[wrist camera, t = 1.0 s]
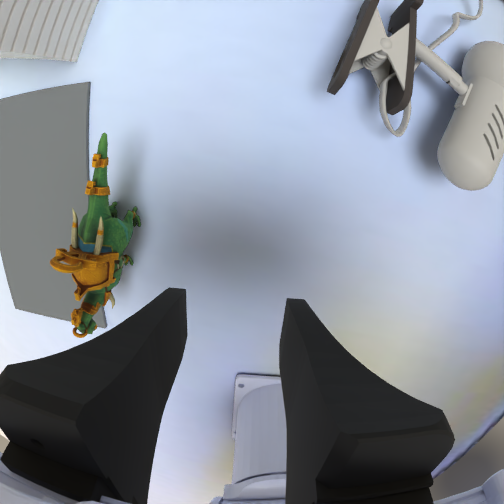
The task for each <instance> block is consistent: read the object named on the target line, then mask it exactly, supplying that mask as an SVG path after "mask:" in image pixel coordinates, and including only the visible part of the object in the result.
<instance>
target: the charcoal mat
mask: <svg viewBox="0 0 504 504" xmlns="http://www.w3.org/2000/svg"><path fill="white" fill-rule="evenodd" d="M89 96H90V82H84V83H77V84H71V85H64V86H58V87H53V88H47V89H42V90H37V91H33V92H28V93H23V94H19V95H15V96H11V97H7V98H3V99H0V251H1V256H2V261H3V265H4V269H5V273H6V277H7V281H8V285H9V288H10V292H11V295H12V299H13V302H14V306H15V309H19V310H23V311H27V312H31V313H35V314H39V315H44V316H48V317H52V318H57V319H61V320H66V321H71V320H72V318H71V313H72V312H73V310H74V309H79V308H80V307H81V303H82V301H83V299H84V298H85V295H86V294H85V295H84V296H83V297H82V298H81V300H80V301H77V300H75V295H74V292H75V290H76V289H77V285H76V283H75V282H74V280H73V278H72V275H71V274H72V273H62V272H58V271H57V270H55V269H53V267H52V266H51V265H50V260H51V259H52V258H53V257H55V255H56V249H59V248H65V249H66V250H67V252H69V248H70V245H71V244H72V242H71V236H72V224H73V210H72V208H73V209H74V211H75V212H76V214H77V218H78V228H79V225H80V222H81V220H82V218H83V216H84V215H85V214H86V213H87V210H88V202H89V195H87V194H85V191H86V186H87V182H88V181H89V159H88V124H89ZM60 263H63V264H67V263H65V262H63V261H61V262H60ZM67 265H70V264H67ZM92 319H93V320H94V321H95V322H96V325H97V327H101V328H106V327H107V324H106V319H105V313H104V308H103V306H101V307H100V309H99V310H98V312H97V313H96V314H94V316H93V317H92Z"/></svg>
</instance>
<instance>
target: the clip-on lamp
mask: <svg viewBox="0 0 504 504" xmlns="http://www.w3.org/2000/svg"><path fill="white" fill-rule="evenodd" d="M378 3H379V0H365V1H364V3H363V4H362V6H361V9H360V11H359V14H358V16H357V22H356V24H355V27H354V29H353V31H352V33H351V36H350V38H349V40H348V42H347V44H346V47H345V49H344V51H343V53H342V56H341V58H340V60H339V62H338V65H337V67H336V69H335V72H334V74H333V76H332V79H331V81H330V83H329V86H328V89H327V92H329V93H331V94H334V95H335V94H336V93H337V92H338V91H339V89H340V88H341V87H342V86H343V84H344V83H345V81H346V79H347V77H348V75H349V74H350V73H353V72H355V71H357V70H359V69H362V68H364V67H365V68H366V69H368V70H370V71H371V73H372V75H373V78H374V80H375V82H376V84H377V86H378V89H379V91H380V95H379V106H380V113H381V116H382V119H383V121H384V124H385V125H386V127H387V128H388V130H389V131H390V132H391V133H392V134H393V135H395V136H397V137H400V136H402V135H403V133H404V132H405V130H406V128H407V125H408V122H409V119H410V114H411V96H412V89H413V78H414V72H415V70H416V68H417V67H418V66H419V64H420V63H421V61H422V62H423V63H424V64H425V65H427V66H428V67H429V68H430V69H431V70H433V71H434V72H435V73H436V74H437V75H438V76H440V77H441V78H442V79H443V80H444V81H445V82H446V83H447V84H449V85H450V86H451V87H452V88H453V89H454V90H455V91H456V92H457V93H458V94H459V96H458V99H457V101H456V103H455V105H454V107H455V111H454V113H453V115H452V117H451V119H450V122H449V124H448V126H447V128H446V130H445V132H444V135H443V137H442V139H441V141H440V143H439V146H438V151H437V157H438V162H439V165H440V168H441V170H442V172H443V174H444V175H445V177H446V178H447V179H448V180H449V181H450V182H451V183H452V184H454V185H455V186H457V187H459V188H461V189H464V190H470V191H473V190H480V189H483V188H485V187H487V186H488V185H489V184H490V183H491V181H492V180H493V177H494V175H495V173H496V170H497V168H498V166H499V163H500V161H501V158H502V156H503V153H504V44H501V43H498V42H495V41H484V42H480V43H477V44H475V45H474V46H473V47H472V48H471V49H470V50H469V51H468V52H467V53H466V55H465V57H464V61H463V65H462V77H461V76H460V75H459V74H458V73H457V72H456V71H455V70H453V69H452V68H451V67H450V66H449V65H448V64H447V63H446V62H445V61H443V60H442V59H441V58H440V57H439V56H438V55H436V54H435V53H434V52H433V51H432V50H433V49H434V48H435V47H436V46H438V45H439V44H440V43H441V42H443V41H444V40H445V39H447V38H448V37H449V36H450V35H452V34H453V33H454V32H455V30H456V29H457V28H458V26H459V24H460V19H459V18H461V19H465V20H476V19H477V18H479V17H480V16H481V14H482V10H483V0H479V10H478V13H477V15H476V16H469V15H465V14H463V13H459V12H457V13H454V14H453V15H452V18H453V24H452V26H451V28H450V29H449V30H448V31H447V32H446V33H444V34H443V35H442V36H440V37H439V38H438V39H437V40H435V41H434V42H433V43H432V44H430V45H429V46H428V47H427V46H426V45H424V44H423V43H422V42H421V41H419V40H418V39H417V38H416V23H417V10H418V8H419V7H420V6H421V5H422V3H423V0H404V1H403V2H402V3H401V5H400V6H399V7H398V8H397V9H396V11H395V12H394V13H393V14H392V15H391V18H390V22H389V26H388V31H390V32H392V36H390V37H388V36H387V35H386V32H385V29H384V26H383V23H382V20H381V17H380V14H379V11H378V9H377V5H378ZM415 56H416V57H417V59H416V60H415ZM462 79H463V81H462ZM402 110H404V113H403V118H402V122H401V124H400V126H399V128H398V129H397V130H396V131H394V130H393V128H392V127H391V125H390V122H389V119H388V116H387V113H388V114H391V115H394V114H396V113H398V112H400V111H402Z"/></svg>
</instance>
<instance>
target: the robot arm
mask: <svg viewBox="0 0 504 504" xmlns="http://www.w3.org/2000/svg"><path fill="white" fill-rule="evenodd" d="M186 339H187V312H186V289H179V288H168V289H166V290H165V291H164V292H162V293H161V294H160V295H159V296H157V297H156V298H155V299H154V300H152V301H151V302H150V303H148V304H147V305H146V306H144V307H143V308H142V309H140V310H139V311H138V312H136V313H135V314H134V315H132V316H131V317H129V318H128V319H126V320H125V321H123V322H122V323H120V324H119V325H117V326H116V327H114V328H112V329H111V330H109V331H107V332H105V333H104V334H102V335H100V336H98V337H96V338H94V339H92V340H90V341H88V342H85V343H83V344H81V345H78V346H76V347H73V348H71V349H69V350H66V351H63V352H60V353H57V354H54V355H51V356H47V357H44V358H40V359H36V360H32V361H27V362H22V363H17V364H11V365H7V366H6V368H5V369H4V370H3V372H2V373H1V374H0V428H1V429H2V431H3V432H4V434H5V435H6V436H7V438H8V439H9V440H10V442H9V444H8V446H7V447H6V449H5V451H4V453H1V452H0V504H147V499H148V491H149V483H150V477H151V470H152V464H153V458H154V453H155V447H156V442H157V437H158V433H159V428H160V423H161V419H162V415H163V412H164V408H165V405H166V402H167V400H168V397H169V394H170V391H171V388H172V386H173V383H174V380H175V377H176V375H177V372H178V369H179V366H180V364H181V361H182V358H183V353H184V349H185V344H186ZM279 368H280V376H281V377H273V376H257V375H245V374H240V375H237V376H236V380H235V394H234V408H233V423H232V439H234V440H235V451H234V463H233V475H232V484H228V485H225V487H224V496H223V497H220V496H218V497H215V498H214V499H213V500H212V501H211V502H210V503H209V504H504V469H502V470H500V471H498V472H497V473H495V474H494V475H492V476H491V477H490V478H489V479H488V480H486V482H485V483H484V484H483V485H482V486H480V487H477V488H474V489H472V490H469V491H466V492H463V493H460V494H457V495H454V496H451V497H448V498H444V499H441V500H438V501H435V502H433V499H432V497H431V493H430V489H429V487H431V486H432V485H433V479H432V476H431V472H432V471H433V470H434V469H435V468H436V467H437V466H438V465H439V464H440V462H441V461H442V460H443V459H444V458H445V457H446V456H447V454H448V453H449V452H450V450H451V449H452V447H453V444H454V441H455V439H454V434H453V432H452V430H451V428H450V425H449V423H448V421H447V419H446V417H445V415H444V413H443V411H442V410H441V409H439V408H436V407H434V406H432V405H429V404H427V403H425V402H422V401H420V400H418V399H415V398H413V397H412V396H410V395H408V394H406V393H404V392H402V391H400V390H399V389H397V388H395V387H394V386H392V385H390V384H389V383H387V382H386V381H384V380H383V379H381V378H380V377H378V376H377V375H376V374H374V373H373V372H371V371H370V370H369V369H367V368H366V367H365V366H364V365H363V364H361V363H360V362H359V361H358V360H357V359H356V358H354V357H353V356H352V355H351V354H350V353H349V352H348V351H347V350H346V349H345V348H344V347H343V346H342V345H341V344H340V343H339V342H338V341H337V340H336V339H335V338H334V337H333V336H332V334H331V333H330V332H329V331H328V330H327V328H326V327H325V326H324V325H323V323H322V322H321V321H320V320H319V318H318V317H317V316H316V314H315V313H314V312H313V310H312V309H311V308H310V306H309V305H308V304H307V302H306V301H305V300H304V299H290V298H287V301H286V307H285V314H284V320H283V326H282V332H281V338H280V346H279Z"/></svg>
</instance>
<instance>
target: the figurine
mask: <svg viewBox="0 0 504 504" xmlns="http://www.w3.org/2000/svg"><path fill="white" fill-rule="evenodd" d="M107 145H108V144H107V134H106V133H103V134H102V136H101V139H100V141H99V145H98V152H97V154H94V156H93V160H92V167H95V170H94V175H93V180H92V181H88V182H87V186H86V191H85V194H87V195H89V202H88V210H87V213H86V214H85V215H84V216H83V218H82V220H81V222H80V225H79V228H78V218H77V214H76V212H75V211H74V209H73V208H72V210H73V224H72V236H71V242H72V244H71V245H70V248H69V252H67V250H66V249H65V248H59V249H56V255H55V257H53V258H52V259H51V260H50V265H51V266H52V267H53V269H55V270H57V271H58V272H62V273H72V274H71V275H72V278H73V280H74V282H75V283H76V285H77V289H76V290H75V292H74V295H75V300H77V301H80V300H81V298H82V297H83V296H84V295H85V294H86V295H85V298H84V299H83V301H82V303H81V307H80V308H79V309H74V310H73V312H72V313H71V318H72V320H71V322H72V325H75V328H73V334H74V335H75V336H76V337H79V338H82V337H85V336H86V335H87V334H92V332H93V331H94V330H95V329H97V325H96V322H95V321H94V320H93V319H92V317H93V316H94V314H96V313H97V312H98V310H99V309H100V307H101V306H105V305H106V303H107V301H108V299H110V300H111V302H112V309H113V307H114V305H115V299H114V297H113V294H112V293H111V289H112V288H113V287H114V286H116V285H117V284H118V282H119V280H120V276H121V272H122V268H123V264H124V262H125V265H127V264H128V261H130V264H131V265H133V261H132V260H131V258H130V257H129V256H127V254H126V255H123V251H124V250H125V248H126V247H127V245H128V244H129V241H130V238H131V236H132V233H133V226H134V227H135V226H136V222H137V226H138V227H140V225H141V222H140V218H139V216H138V215H137V214H136V210H137V208H136V206H135V207H134V208H133V211H130V210H128V212H127V214H126V216H125V218H124V220H123V221H122V220H120V219H119V218H118V217H117V210H116V209H115V206H116V205H117V202H113V204H112V205H111V206H109V202H108V195H110V189H109V186H108V183H107V165H108V157H107ZM114 216H115V218H114ZM61 261H63V262H65V263H67V264H70V265H67V264H63V263H60V262H61ZM77 329H78V330H79V331H80V332H81V333H82V334H78V333H77V332H76V330H77Z"/></svg>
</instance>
